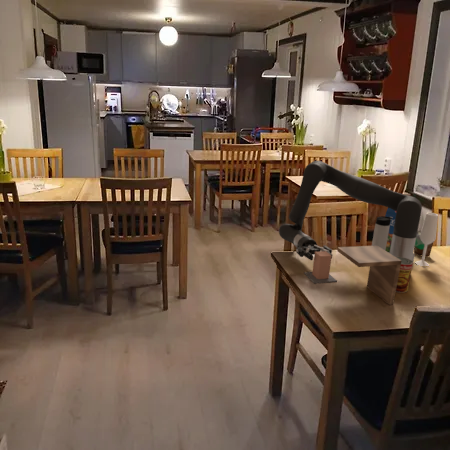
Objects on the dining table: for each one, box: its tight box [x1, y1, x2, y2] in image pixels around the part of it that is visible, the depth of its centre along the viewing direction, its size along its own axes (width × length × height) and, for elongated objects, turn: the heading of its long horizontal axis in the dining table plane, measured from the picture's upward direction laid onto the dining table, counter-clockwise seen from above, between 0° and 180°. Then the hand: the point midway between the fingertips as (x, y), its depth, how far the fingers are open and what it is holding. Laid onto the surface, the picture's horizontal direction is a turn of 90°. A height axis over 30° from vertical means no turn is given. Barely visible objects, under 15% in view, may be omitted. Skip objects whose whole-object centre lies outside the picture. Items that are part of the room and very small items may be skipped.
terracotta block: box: [311, 251, 333, 279], centre depth 185 cm, size 5×5×10 cm
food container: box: [413, 229, 434, 257], centre depth 220 cm, size 12×6×10 cm, turn 5°
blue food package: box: [384, 207, 397, 253], centre depth 218 cm, size 6×12×25 cm, turn 48°
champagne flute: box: [414, 212, 439, 267], centre depth 204 cm, size 7×7×24 cm
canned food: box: [396, 257, 414, 293], centre depth 179 cm, size 8×8×12 cm
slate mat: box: [303, 271, 338, 284], centre depth 187 cm, size 10×10×1 cm
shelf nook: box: [336, 245, 401, 306], centre depth 169 cm, size 17×16×18 cm
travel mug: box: [371, 215, 392, 250], centre depth 209 cm, size 6×7×20 cm
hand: (321, 257), depth 185 cm, fingers open, 8 cm apart
